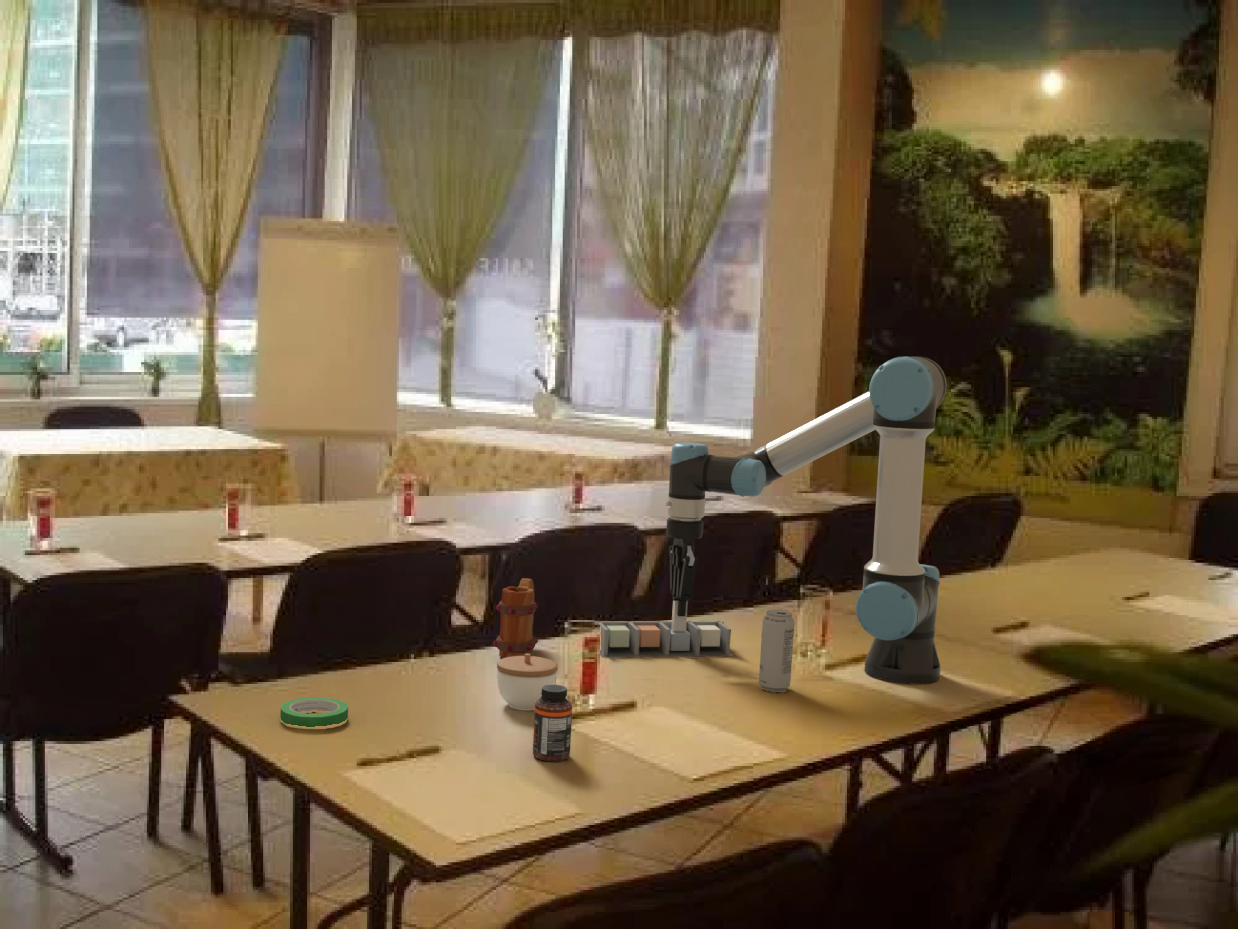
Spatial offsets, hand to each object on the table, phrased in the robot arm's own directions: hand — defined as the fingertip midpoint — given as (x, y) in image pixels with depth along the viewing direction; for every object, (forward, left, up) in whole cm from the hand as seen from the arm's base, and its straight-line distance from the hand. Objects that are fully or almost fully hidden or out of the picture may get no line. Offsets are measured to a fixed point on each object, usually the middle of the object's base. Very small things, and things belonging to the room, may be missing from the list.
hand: (678, 630), depth 295 cm
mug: (+1, +33, -5) cm, 34 cm away
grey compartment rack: (0, +3, -5) cm, 6 cm away
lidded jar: (-34, +38, -6) cm, 52 cm away
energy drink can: (-26, -12, -5) cm, 29 cm away
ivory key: (0, -6, -3) cm, 7 cm away
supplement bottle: (-62, +39, -6) cm, 74 cm away
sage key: (0, +13, -3) cm, 13 cm away
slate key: (0, 0, -4) cm, 4 cm away
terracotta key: (0, +6, -3) cm, 7 cm away
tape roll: (-40, +75, -6) cm, 85 cm away
